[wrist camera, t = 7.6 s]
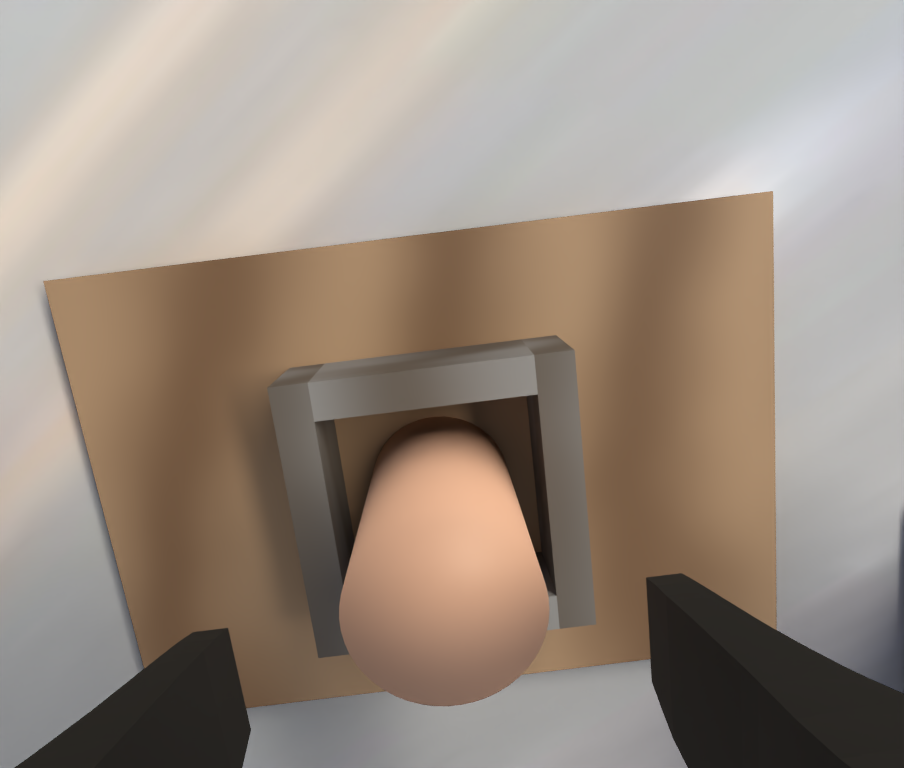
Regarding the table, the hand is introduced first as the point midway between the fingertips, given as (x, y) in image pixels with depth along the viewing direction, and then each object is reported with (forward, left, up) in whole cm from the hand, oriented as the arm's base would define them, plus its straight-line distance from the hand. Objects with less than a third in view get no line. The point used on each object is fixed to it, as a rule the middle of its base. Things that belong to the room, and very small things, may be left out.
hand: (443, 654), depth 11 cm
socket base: (0, 0, -9) cm, 9 cm away
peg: (0, 0, -8) cm, 8 cm away
